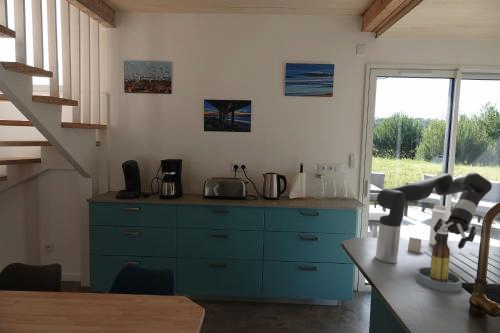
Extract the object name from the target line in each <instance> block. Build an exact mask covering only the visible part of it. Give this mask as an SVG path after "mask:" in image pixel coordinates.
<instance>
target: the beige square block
mask: <svg viewBox="0 0 500 333" xmlns="http://www.w3.org/2000/svg"><path fill="white" fill-rule="evenodd" d="M407 246H408V247H407V251H409V252H414V253H421V248H425V245H424V244H422V239H421V238H418V237H411V236H409V238H408V245H407Z"/></svg>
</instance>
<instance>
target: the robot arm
mask: <svg viewBox="0 0 500 333" xmlns="http://www.w3.org/2000/svg"><path fill="white" fill-rule="evenodd" d="M492 187H493V185H492V182H491V181H490V180H488V179H486V178H485V177H484V176H482V175H481V174H479V173H477V172H473V171H472V172H469V173H468V174H466V175H465V176H459V177H456V178H455V179H453V177H452V175H451V174H450V173H447V172H446V173H439V174H437V175H434V176H432V177H429V178H425V179H422V180H417V181H414V182H411V183H407V184H403V185H401V186H397V187H391V188H390V187H389V188H384V189H382V190H380V191H379V193H378V194H377V196H376V203H377V204H378V206H380V207H381V208H384V209H386V210H389V212H388V214H387V215H381V216H380V217H379V224H378V233H377V234H378V236H377V239H376V240H377V241H376V248H375V249H376V251H375V257H376V260H378V261H379V262H382V263H386V264H387V263H388V264H396V263H397V262H398V257H399V256H398V255H399V246H400V235H401V226H402V221H403V218H404V214H405V207H406V202H418V201H422V200H425V199H428V198H429V197H430V196H431V195H432V193H433V191H434V190H435V193H436V195H438V196H450V195H455V194H458V193H461V194H460V196H459V199H458V200H457V202H456V203H455V205H454V206H453V208H452V210H451V213H450V214H449V217H448V219H446V221H443V220H442V219H439V220H438V222H437V223H436V225H435V226H434V228H433V229H434V231H435V233H437V232H438V231H442V232H446V233H448V234H449V233H451V234H455V235H460V236H461V238H460V240H459V241H458V242H459V243H458V244H457V248H458V249H460V250H462V249H463V248H465V245H466V244H467V242H469V243H472V242H473V241H474V239H475V237H476V233H477V231H478V230H477V228H476V226H474V225H473V226H471V225H470V224H471V223H472V220H473V219H474V215H475V213H476V211H477V208H478V207H479V204H480V202H481V200H483V198H484V197H485V196H486V195H488V194H489V193H490V191H491V190H492V189H493V188H492ZM444 224H446V225H445V226H443V225H444ZM441 226H443V227H442V228H441ZM467 231H469V232H468V233H469V234H468V235H467V236H466V234H465V232H467ZM436 240H437V235H436V236H435V241H436Z"/></svg>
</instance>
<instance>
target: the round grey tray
mask: <svg viewBox="0 0 500 333" xmlns="http://www.w3.org/2000/svg"><path fill="white" fill-rule="evenodd" d="M430 274H431V266H427V267H426V266H421V267H419V268H417V269H416V275H415V277H416V281H417V282H418V283H419V284H421V285H422V286H425V287H427V288H430V289H432V290H435V291H440V292H446V293H456V292H459V291H460V290H462V289H463V288H462V287H463V280H462V278H461V277H460V276H459V275H457V274H456V273H454V272H452V271H449V273H448V280H447V283H445V282H440V281H435V280H432V279H431V275H430Z"/></svg>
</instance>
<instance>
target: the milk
mask: <svg viewBox="0 0 500 333" xmlns="http://www.w3.org/2000/svg"><path fill="white" fill-rule="evenodd" d="M431 212H432V213H431V220H430V222H431V223H430V232H429V238H428V239H429V240H428V244H429V245H433V246H434V245H435V244H436V241H435V236H436V233H435V231H434V229H433V228H434V226H435V225H436V223H437V222H438V220H439V219H442V220H443V221H447V218H448V217H447V216H448V210H447V206H446V205H440V204H434V206H433V209H432V211H431ZM445 225H446V224H444V225H443V226H445ZM443 226H441V228H442V227H443Z"/></svg>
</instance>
